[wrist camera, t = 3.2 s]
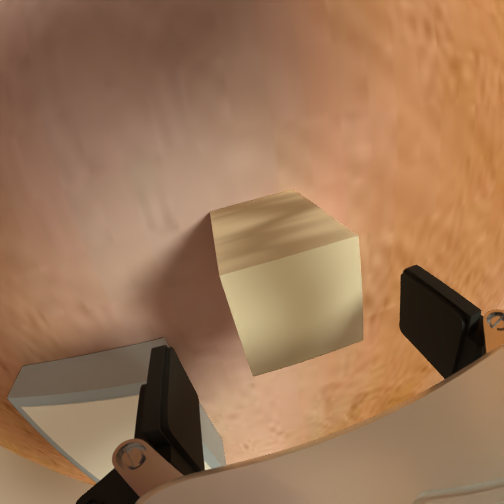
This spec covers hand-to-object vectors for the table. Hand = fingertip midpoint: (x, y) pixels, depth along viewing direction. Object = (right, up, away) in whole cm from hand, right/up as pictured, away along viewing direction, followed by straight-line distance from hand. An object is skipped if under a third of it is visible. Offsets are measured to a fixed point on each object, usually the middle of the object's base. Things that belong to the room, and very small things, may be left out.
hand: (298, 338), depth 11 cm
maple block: (-1, +4, +7) cm, 8 cm away
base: (-13, -11, +11) cm, 20 cm away
